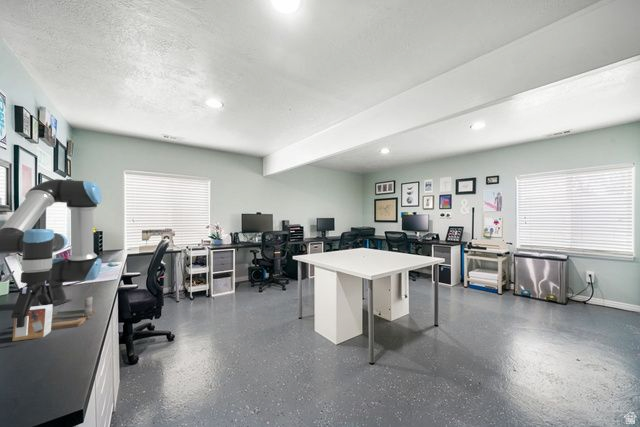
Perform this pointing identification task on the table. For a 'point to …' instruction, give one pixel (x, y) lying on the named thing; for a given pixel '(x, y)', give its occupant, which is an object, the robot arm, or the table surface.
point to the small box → (37, 322)
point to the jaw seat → (72, 316)
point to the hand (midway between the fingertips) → (33, 328)
